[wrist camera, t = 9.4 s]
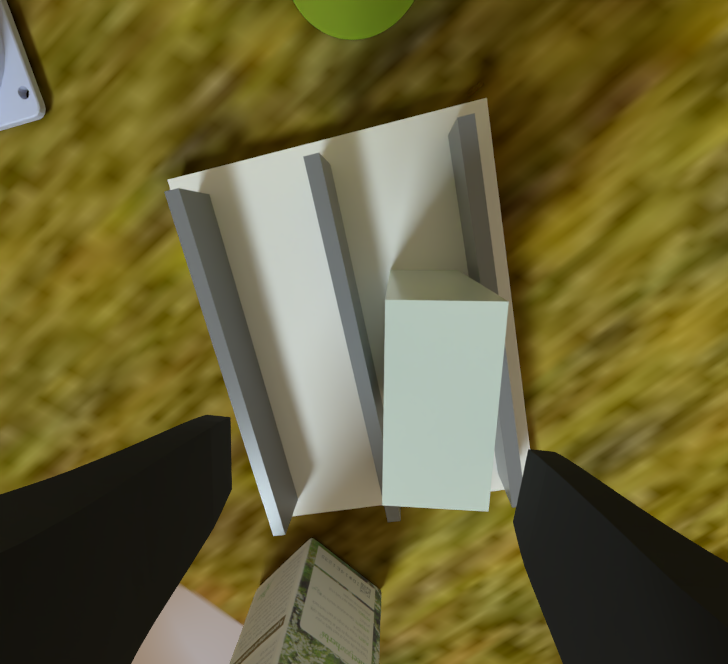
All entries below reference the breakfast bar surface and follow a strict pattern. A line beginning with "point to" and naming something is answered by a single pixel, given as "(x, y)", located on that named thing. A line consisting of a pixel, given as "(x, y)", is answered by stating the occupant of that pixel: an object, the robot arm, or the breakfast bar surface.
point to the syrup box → (312, 614)
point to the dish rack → (340, 293)
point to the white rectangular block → (441, 389)
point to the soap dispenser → (353, 16)
